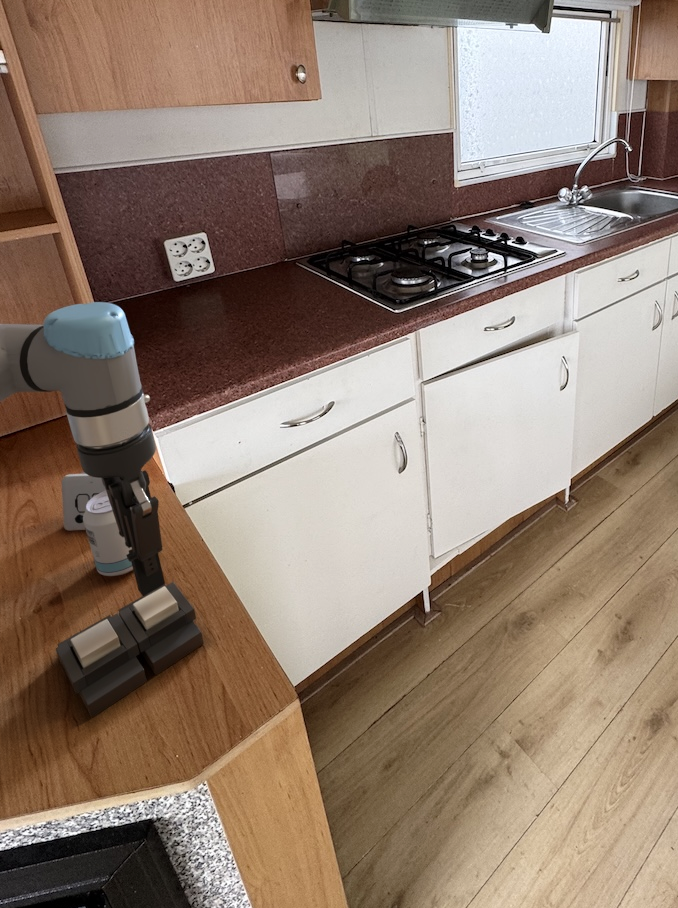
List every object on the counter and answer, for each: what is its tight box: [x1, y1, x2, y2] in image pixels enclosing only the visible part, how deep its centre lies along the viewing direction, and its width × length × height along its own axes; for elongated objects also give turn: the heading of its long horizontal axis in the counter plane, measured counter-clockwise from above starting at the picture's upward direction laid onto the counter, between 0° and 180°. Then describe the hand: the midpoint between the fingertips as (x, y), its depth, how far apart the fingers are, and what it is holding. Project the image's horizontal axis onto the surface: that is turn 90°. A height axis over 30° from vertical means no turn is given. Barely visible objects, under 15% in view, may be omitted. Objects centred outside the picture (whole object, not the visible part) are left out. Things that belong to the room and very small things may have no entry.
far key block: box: [118, 581, 205, 676], centre depth 78 cm, size 12×7×4 cm, turn 50°
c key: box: [71, 619, 120, 669], centre depth 72 cm, size 4×4×2 cm
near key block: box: [55, 612, 147, 719], centre depth 73 cm, size 12×7×4 cm, turn 50°
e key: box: [133, 586, 179, 630], centre depth 77 cm, size 4×4×2 cm
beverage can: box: [83, 491, 134, 577], centre depth 88 cm, size 7×7×12 cm
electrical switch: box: [61, 472, 106, 531], centre depth 98 cm, size 9×5×9 cm, turn 95°
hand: (152, 586), depth 76 cm, fingers closed
